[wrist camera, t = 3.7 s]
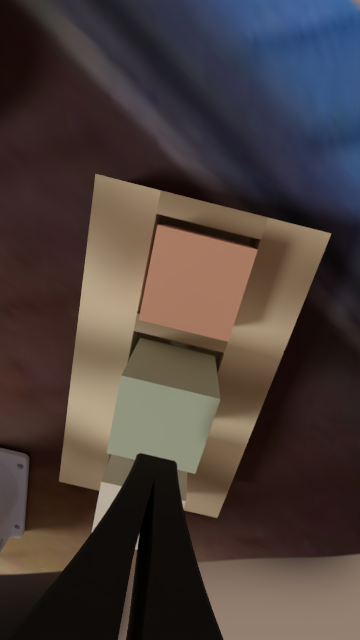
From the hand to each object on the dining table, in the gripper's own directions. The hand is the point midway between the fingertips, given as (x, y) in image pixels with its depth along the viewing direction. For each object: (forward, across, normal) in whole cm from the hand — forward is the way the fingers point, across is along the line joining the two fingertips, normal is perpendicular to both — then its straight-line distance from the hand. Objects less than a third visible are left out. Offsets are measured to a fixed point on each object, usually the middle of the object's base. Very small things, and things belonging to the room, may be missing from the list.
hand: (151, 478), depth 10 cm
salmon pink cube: (+9, 0, -6) cm, 10 cm away
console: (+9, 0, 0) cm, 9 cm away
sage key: (+7, 0, 0) cm, 7 cm away
